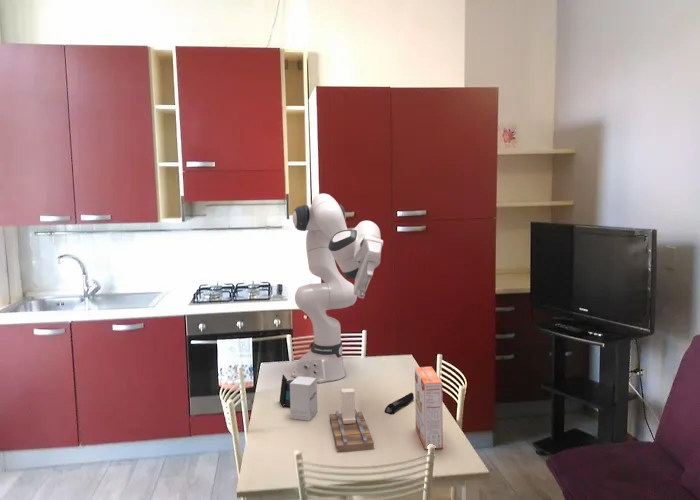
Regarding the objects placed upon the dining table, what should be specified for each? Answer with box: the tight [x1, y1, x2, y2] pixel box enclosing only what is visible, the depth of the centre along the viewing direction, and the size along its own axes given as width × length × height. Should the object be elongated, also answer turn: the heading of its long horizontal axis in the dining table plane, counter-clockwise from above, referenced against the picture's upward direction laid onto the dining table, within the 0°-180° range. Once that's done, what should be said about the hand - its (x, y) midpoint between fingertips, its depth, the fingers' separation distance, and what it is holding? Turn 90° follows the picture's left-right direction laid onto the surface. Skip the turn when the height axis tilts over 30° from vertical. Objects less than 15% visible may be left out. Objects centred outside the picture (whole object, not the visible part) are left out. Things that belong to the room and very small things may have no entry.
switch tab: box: [340, 387, 356, 424], centre depth 172 cm, size 5×4×10 cm
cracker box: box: [414, 366, 444, 451], centre depth 163 cm, size 14×6×21 cm, turn 4°
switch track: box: [329, 408, 375, 453], centre depth 169 cm, size 22×11×3 cm, turn 8°
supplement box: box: [289, 376, 318, 422], centre depth 182 cm, size 7×7×13 cm
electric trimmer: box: [384, 392, 415, 415], centre depth 189 cm, size 4×16×3 cm, turn 141°
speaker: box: [278, 374, 294, 408], centre depth 191 cm, size 8×6×10 cm
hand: (365, 286), depth 165 cm, fingers open, 8 cm apart
